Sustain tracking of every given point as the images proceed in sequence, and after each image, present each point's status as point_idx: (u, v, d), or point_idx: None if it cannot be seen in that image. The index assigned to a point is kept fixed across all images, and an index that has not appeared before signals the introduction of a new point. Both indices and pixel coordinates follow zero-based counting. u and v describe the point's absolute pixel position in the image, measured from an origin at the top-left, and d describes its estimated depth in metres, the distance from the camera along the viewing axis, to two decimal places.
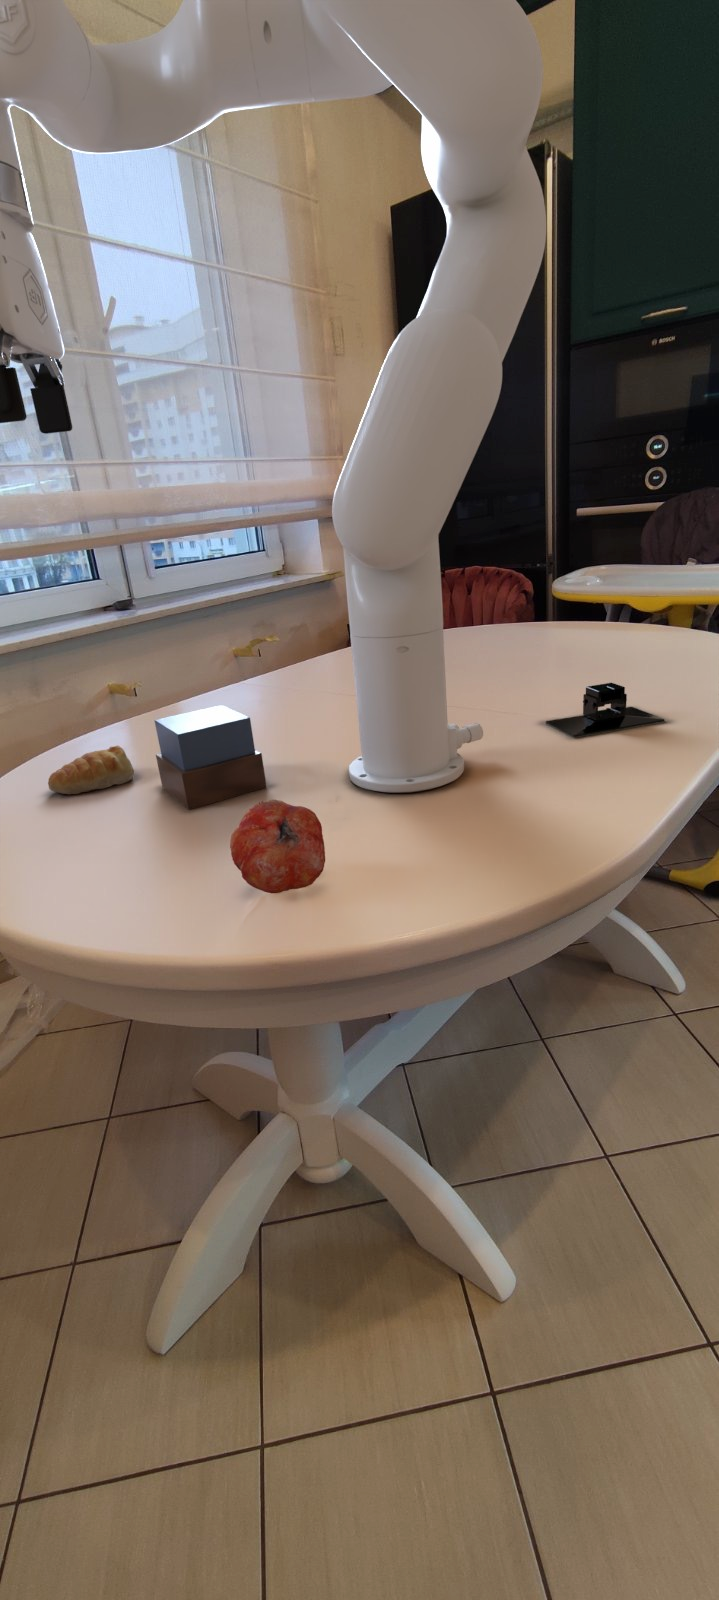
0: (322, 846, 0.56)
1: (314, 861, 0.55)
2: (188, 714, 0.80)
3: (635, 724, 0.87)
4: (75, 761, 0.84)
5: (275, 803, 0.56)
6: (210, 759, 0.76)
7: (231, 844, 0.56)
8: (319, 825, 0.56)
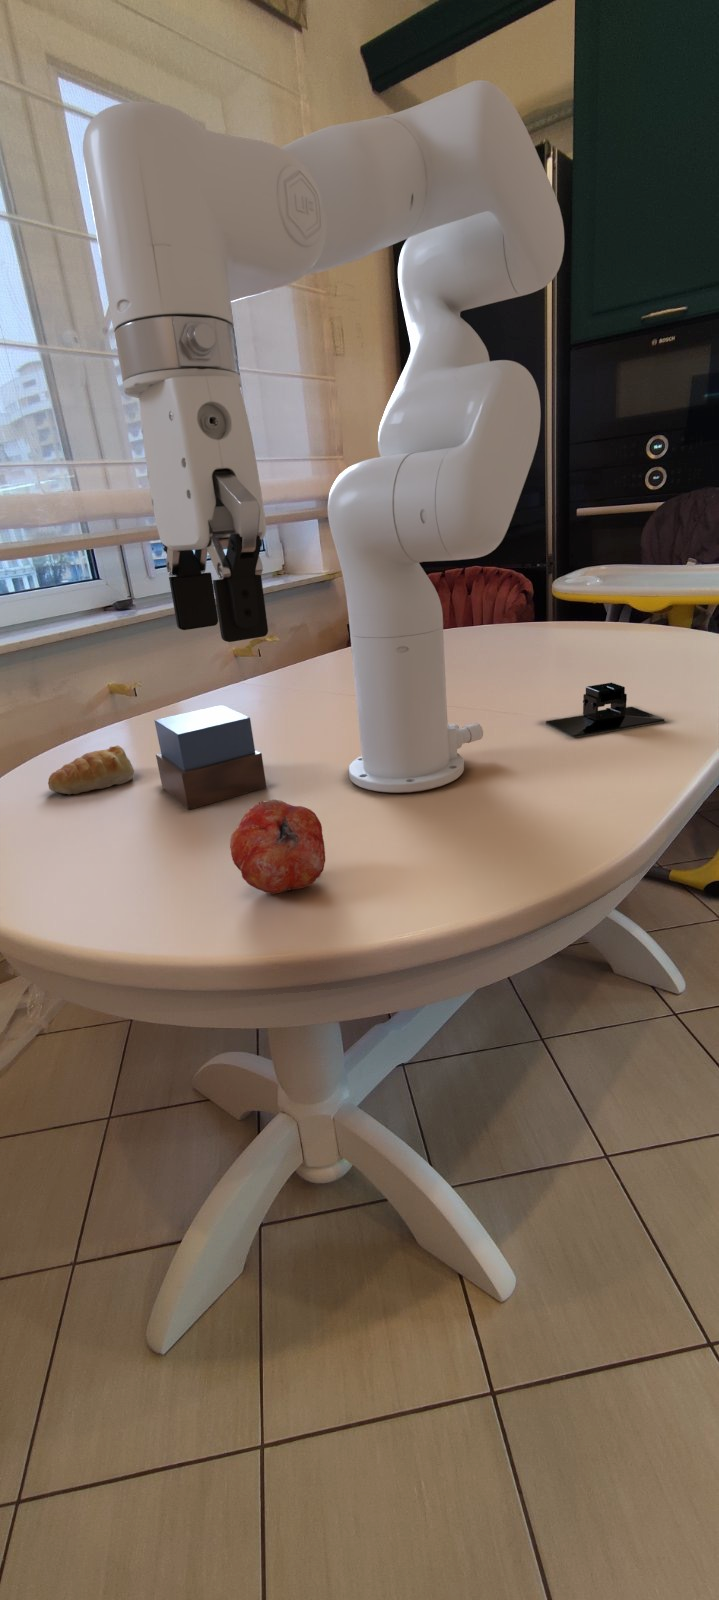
0: (322, 846, 0.56)
1: (314, 861, 0.55)
2: (188, 714, 0.80)
3: (635, 724, 0.87)
4: (75, 761, 0.84)
5: (275, 803, 0.56)
6: (210, 759, 0.76)
7: (231, 844, 0.56)
8: (319, 825, 0.56)
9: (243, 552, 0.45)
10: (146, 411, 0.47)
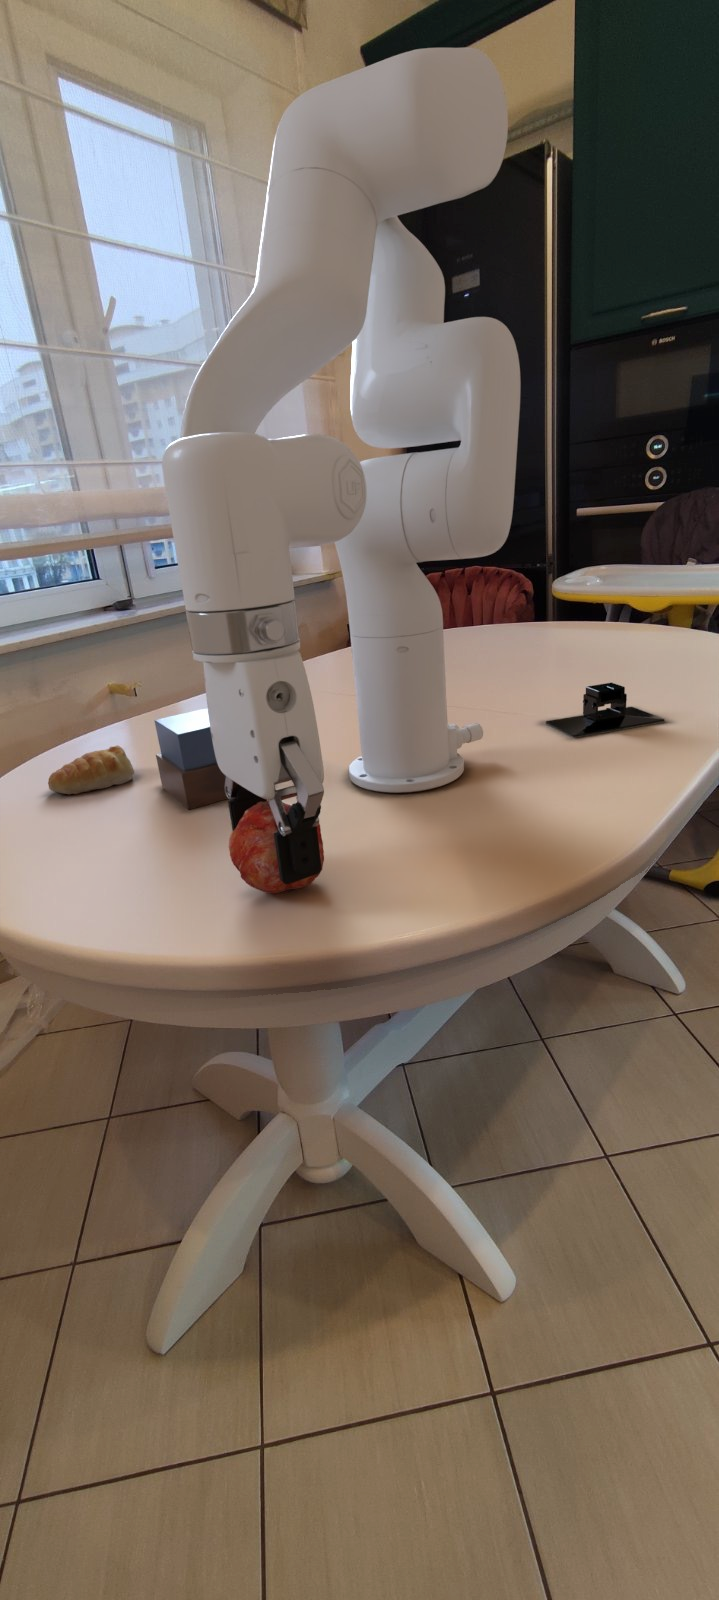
0: (320, 846, 0.56)
1: None
2: (188, 714, 0.80)
3: (635, 724, 0.87)
4: (75, 761, 0.84)
5: None
6: (210, 759, 0.76)
7: (230, 844, 0.56)
8: None
9: (304, 818, 0.49)
10: (213, 674, 0.51)
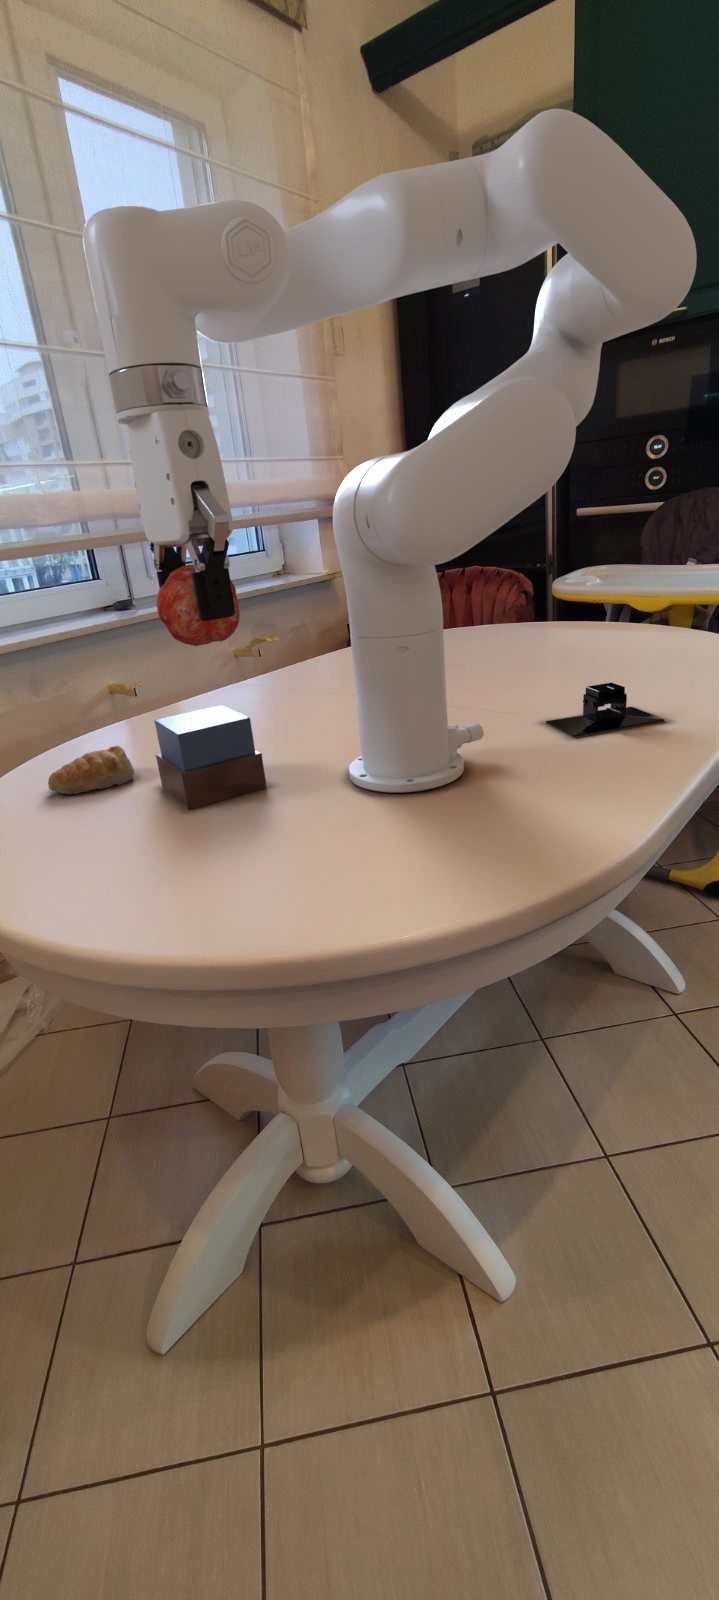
0: (235, 600, 0.65)
1: None
2: (188, 714, 0.80)
3: (635, 724, 0.87)
4: (75, 761, 0.84)
5: None
6: (210, 759, 0.76)
7: (157, 601, 0.65)
8: (232, 585, 0.66)
9: (214, 551, 0.59)
10: (135, 436, 0.60)
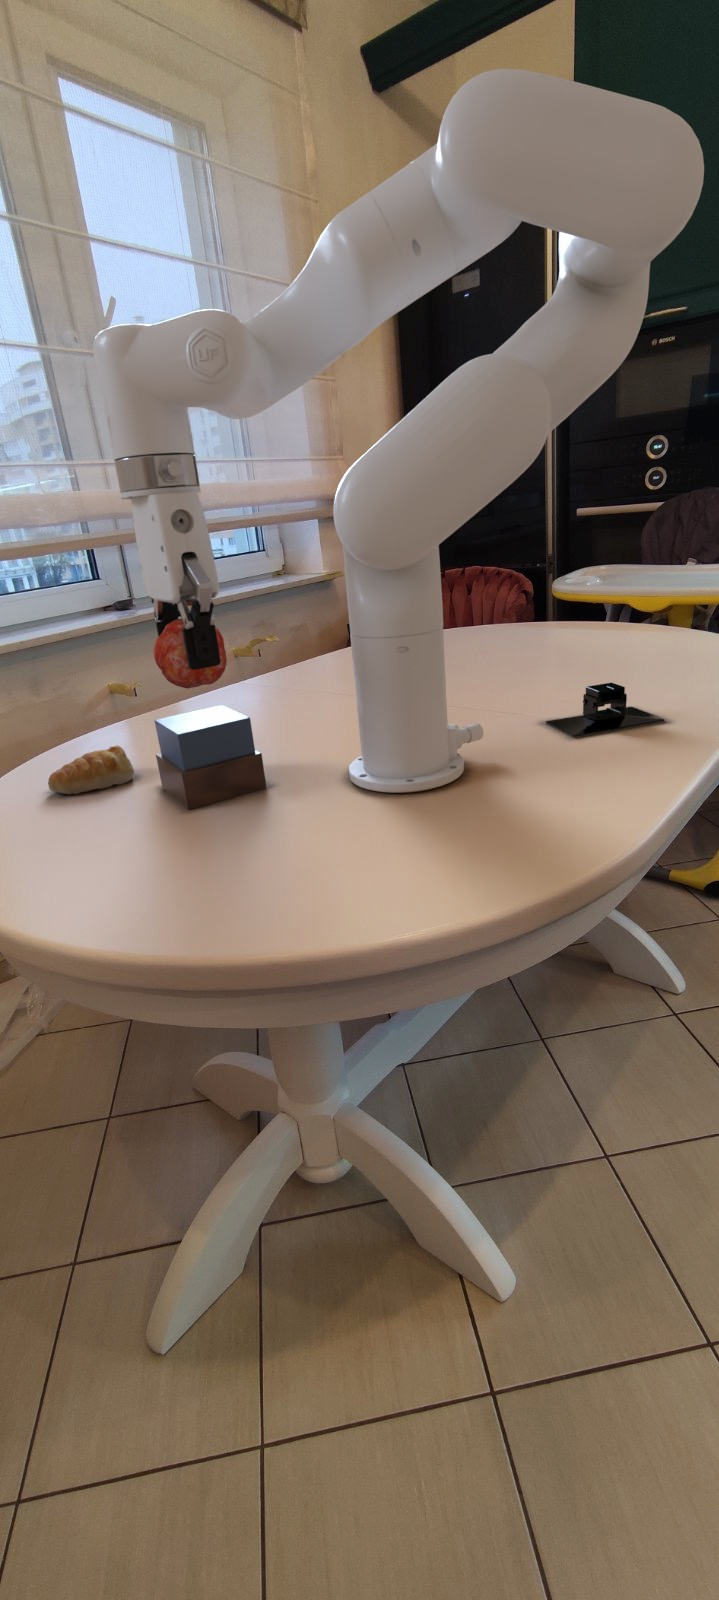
0: (221, 650, 0.75)
1: None
2: (188, 714, 0.80)
3: (635, 724, 0.87)
4: (75, 761, 0.84)
5: None
6: (210, 759, 0.76)
7: (154, 649, 0.75)
8: (220, 636, 0.75)
9: (201, 612, 0.68)
10: (136, 510, 0.70)
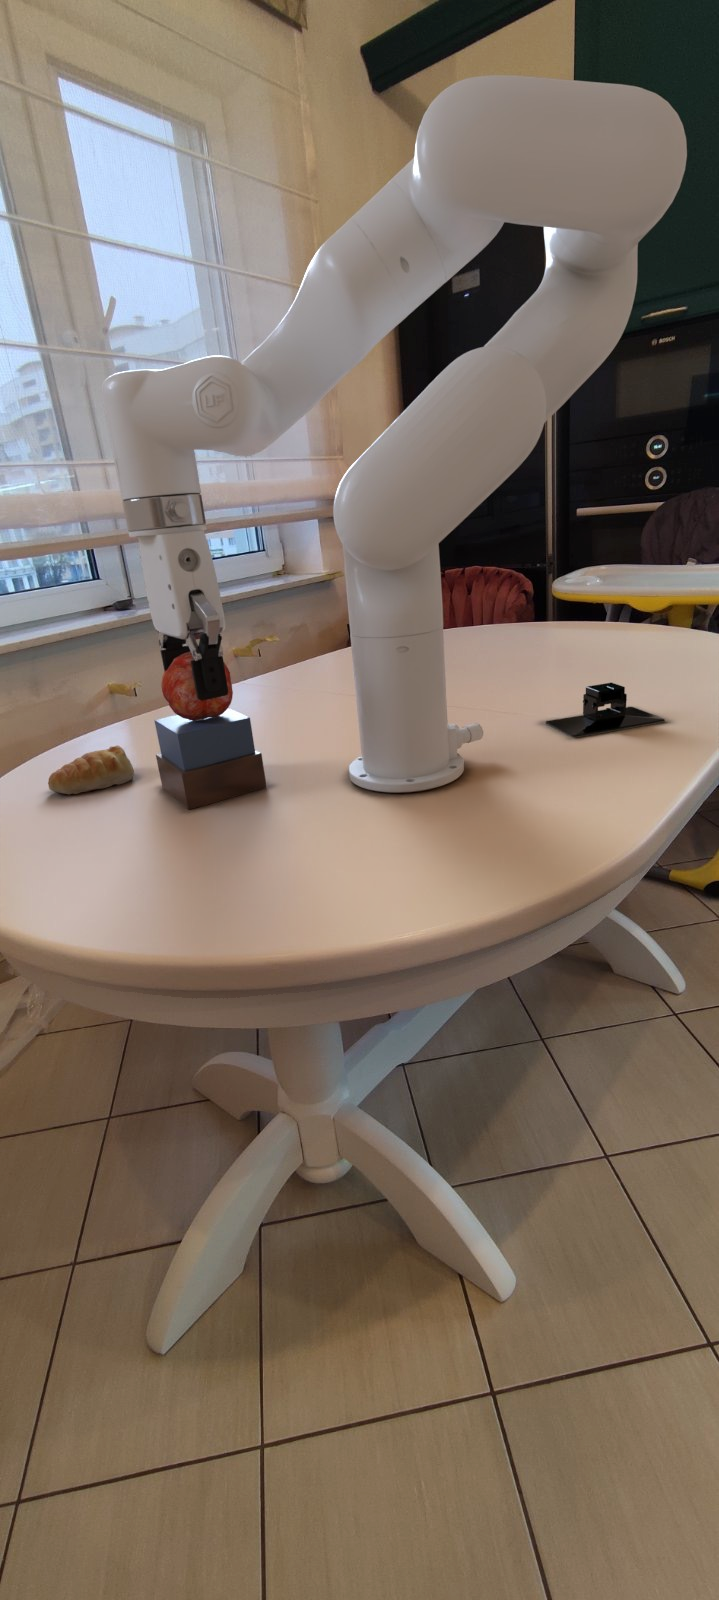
0: (228, 684, 0.76)
1: None
2: None
3: (635, 724, 0.87)
4: (75, 761, 0.84)
5: None
6: (210, 759, 0.76)
7: (161, 682, 0.76)
8: (227, 670, 0.77)
9: (209, 645, 0.69)
10: (144, 548, 0.71)
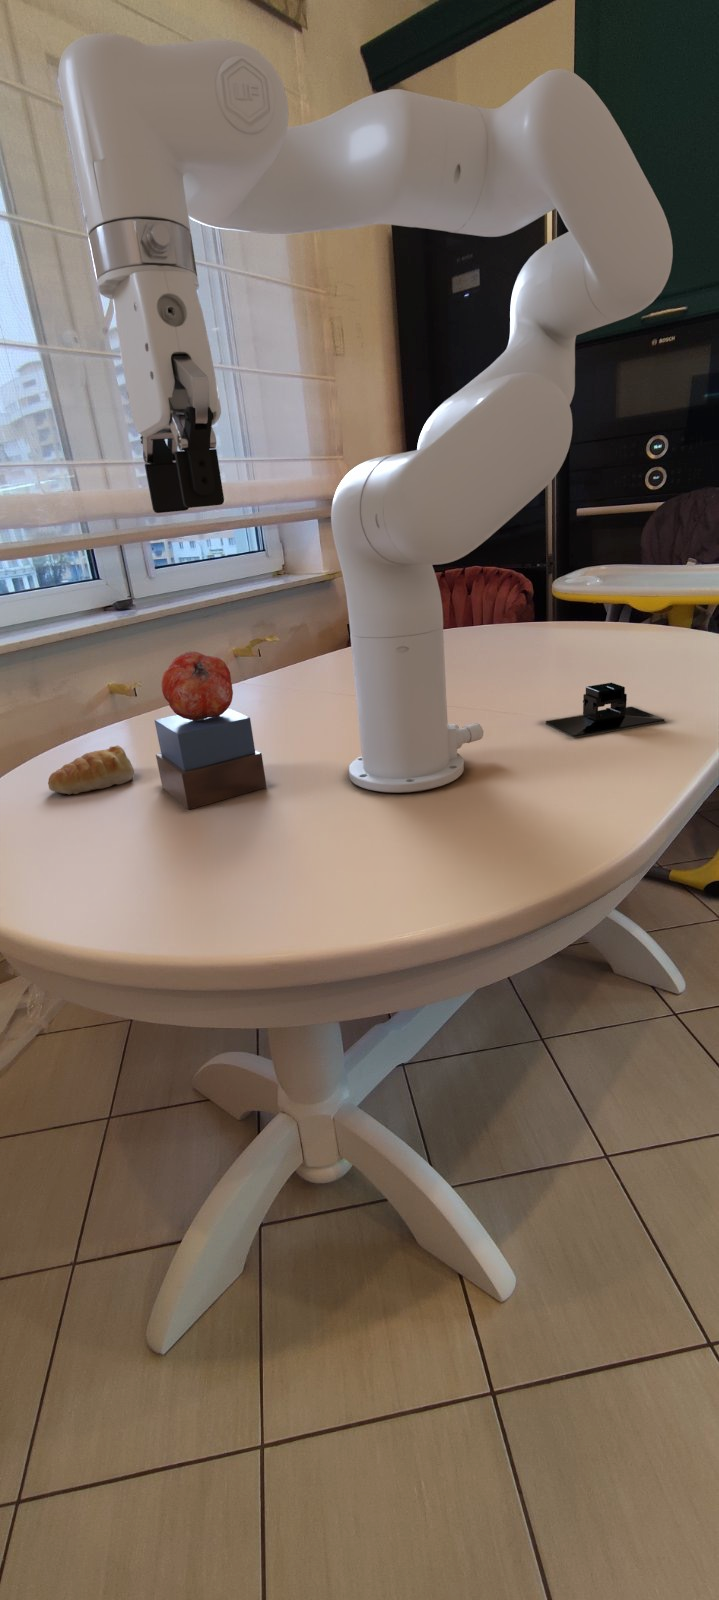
0: (228, 684, 0.76)
1: (221, 692, 0.75)
2: None
3: (635, 724, 0.87)
4: (75, 761, 0.84)
5: (194, 652, 0.76)
6: (210, 759, 0.76)
7: (161, 682, 0.76)
8: (227, 670, 0.77)
9: (197, 423, 0.53)
10: (117, 308, 0.55)
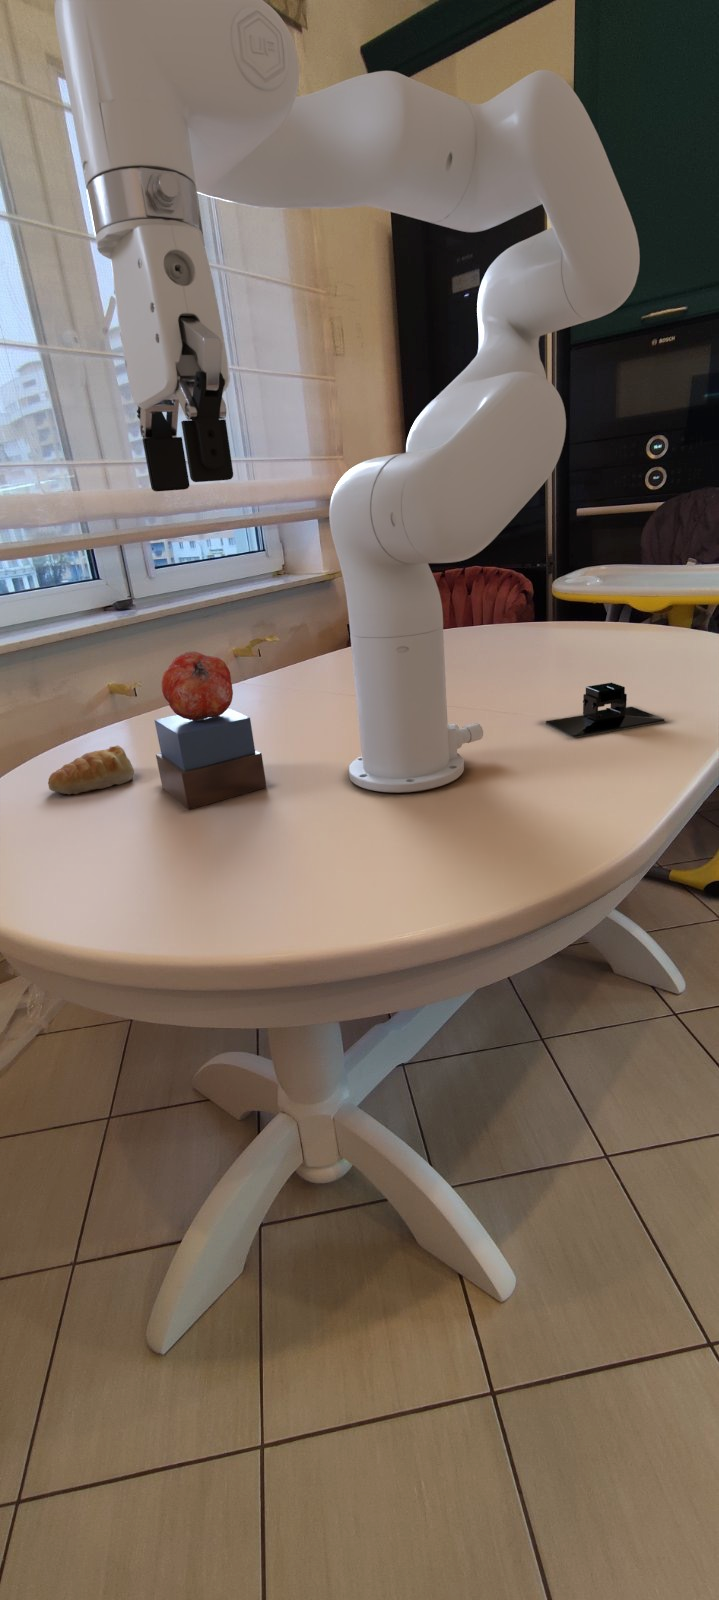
0: (228, 684, 0.76)
1: (221, 692, 0.75)
2: None
3: (635, 724, 0.87)
4: (75, 761, 0.84)
5: (194, 652, 0.76)
6: (210, 759, 0.76)
7: (161, 682, 0.76)
8: (227, 670, 0.77)
9: (207, 390, 0.50)
10: (117, 267, 0.51)
